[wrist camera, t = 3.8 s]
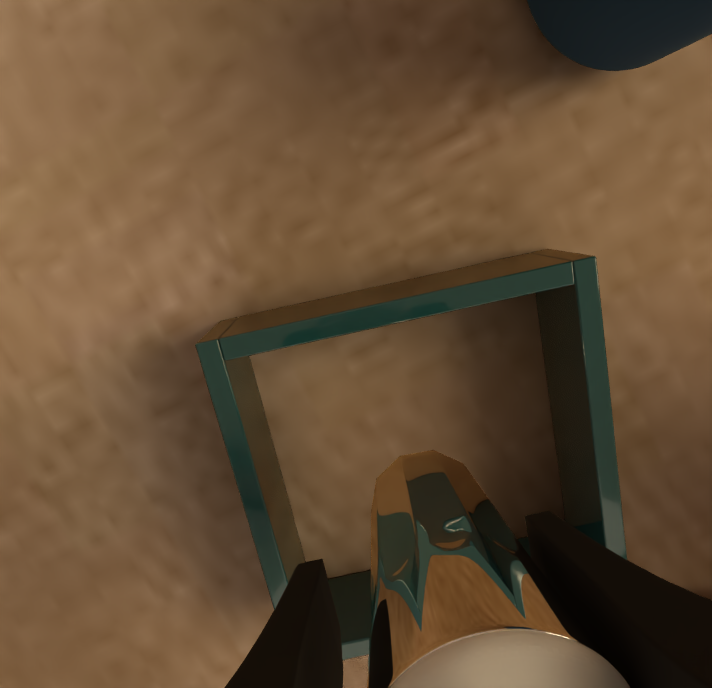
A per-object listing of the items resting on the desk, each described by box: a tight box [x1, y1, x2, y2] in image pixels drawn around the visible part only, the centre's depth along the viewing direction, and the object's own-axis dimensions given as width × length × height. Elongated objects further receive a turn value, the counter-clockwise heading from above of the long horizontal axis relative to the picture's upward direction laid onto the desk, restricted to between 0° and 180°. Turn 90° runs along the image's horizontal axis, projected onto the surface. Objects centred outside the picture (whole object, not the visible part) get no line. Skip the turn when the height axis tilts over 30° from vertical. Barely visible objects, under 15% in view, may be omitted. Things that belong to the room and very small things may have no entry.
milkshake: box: [367, 450, 630, 688], centre depth 11 cm, size 4×5×10 cm
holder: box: [195, 249, 627, 660], centre depth 21 cm, size 14×14×4 cm
